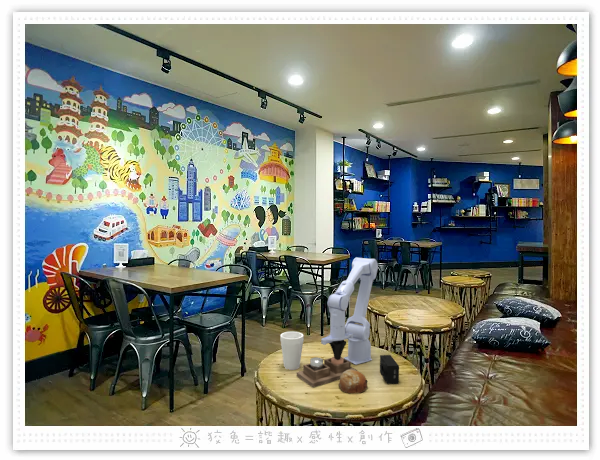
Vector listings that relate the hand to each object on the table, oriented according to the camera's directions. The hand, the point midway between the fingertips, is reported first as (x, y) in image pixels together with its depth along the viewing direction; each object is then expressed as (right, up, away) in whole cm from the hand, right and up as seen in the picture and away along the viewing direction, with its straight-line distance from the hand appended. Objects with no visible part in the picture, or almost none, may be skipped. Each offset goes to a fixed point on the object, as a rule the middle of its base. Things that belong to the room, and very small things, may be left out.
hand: (337, 359), depth 139 cm
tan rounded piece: (0, -3, 0) cm, 3 cm away
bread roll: (+4, -6, -12) cm, 14 cm away
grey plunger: (-8, -1, -5) cm, 10 cm away
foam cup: (-18, -5, +5) cm, 20 cm away
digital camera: (+19, -6, -5) cm, 20 cm away
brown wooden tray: (-4, -5, -3) cm, 7 cm away
